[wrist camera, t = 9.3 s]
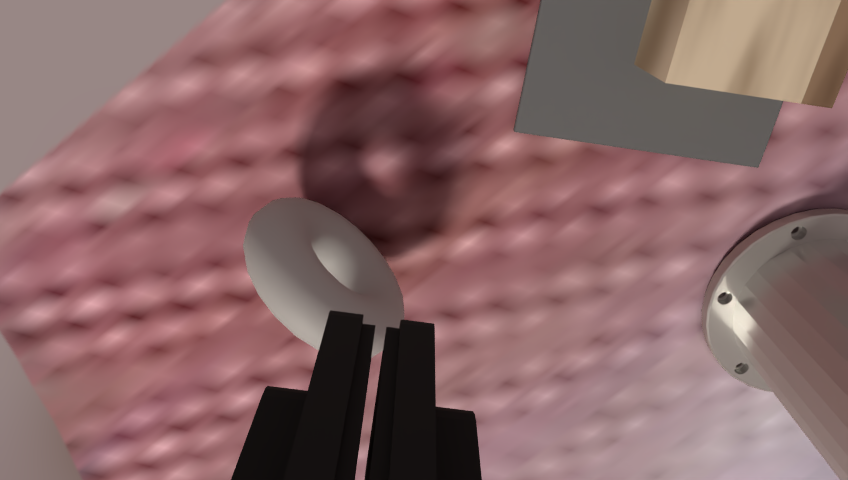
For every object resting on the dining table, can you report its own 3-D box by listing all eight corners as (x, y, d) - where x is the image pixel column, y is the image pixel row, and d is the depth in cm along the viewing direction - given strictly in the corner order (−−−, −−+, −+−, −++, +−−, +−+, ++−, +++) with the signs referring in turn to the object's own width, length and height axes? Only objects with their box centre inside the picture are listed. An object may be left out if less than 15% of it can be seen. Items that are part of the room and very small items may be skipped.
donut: (256, 201, 38) (202, 281, 29) (294, 161, 37) (250, 231, 28) (380, 305, 41) (367, 408, 32) (419, 271, 40) (416, 367, 31)
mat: (841, -65, 32) (845, -65, 32) (754, 165, 37) (758, 167, 37) (563, -112, 31) (565, -112, 31) (513, 129, 36) (514, 131, 36)
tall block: (661, -38, 32) (816, -13, 33) (633, 64, 34) (779, 86, 35) (700, -35, 28) (878, -6, 28) (665, 82, 30) (832, 108, 30)
